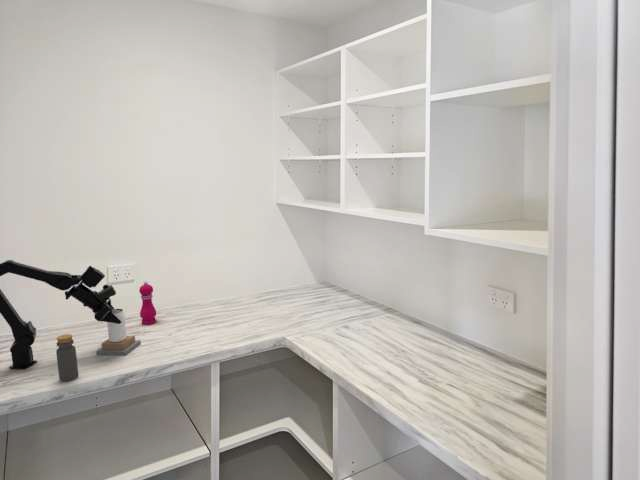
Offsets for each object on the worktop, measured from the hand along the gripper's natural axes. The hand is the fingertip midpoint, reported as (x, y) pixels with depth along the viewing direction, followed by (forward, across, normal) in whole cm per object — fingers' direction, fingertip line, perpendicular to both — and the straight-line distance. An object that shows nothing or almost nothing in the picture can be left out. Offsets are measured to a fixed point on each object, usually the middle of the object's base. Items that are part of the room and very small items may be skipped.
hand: (120, 319), depth 184 cm
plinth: (+8, 0, +9) cm, 12 cm away
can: (+5, 0, +7) cm, 8 cm away
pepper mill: (+18, +29, 0) cm, 34 cm away
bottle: (-4, -20, +22) cm, 30 cm away
